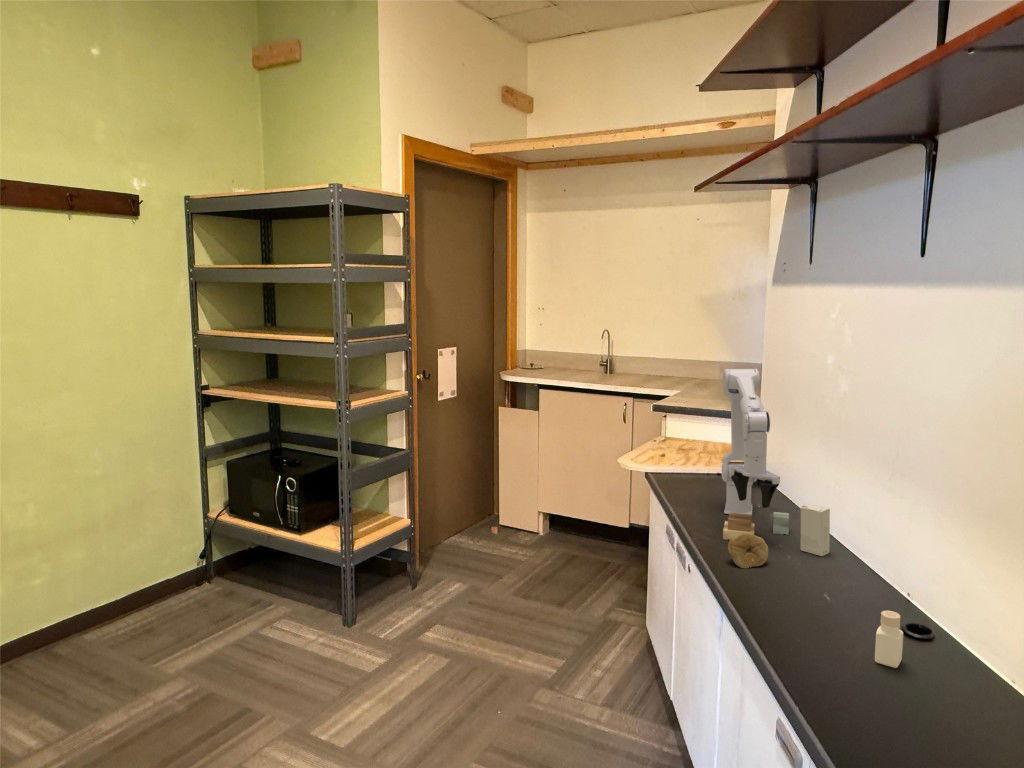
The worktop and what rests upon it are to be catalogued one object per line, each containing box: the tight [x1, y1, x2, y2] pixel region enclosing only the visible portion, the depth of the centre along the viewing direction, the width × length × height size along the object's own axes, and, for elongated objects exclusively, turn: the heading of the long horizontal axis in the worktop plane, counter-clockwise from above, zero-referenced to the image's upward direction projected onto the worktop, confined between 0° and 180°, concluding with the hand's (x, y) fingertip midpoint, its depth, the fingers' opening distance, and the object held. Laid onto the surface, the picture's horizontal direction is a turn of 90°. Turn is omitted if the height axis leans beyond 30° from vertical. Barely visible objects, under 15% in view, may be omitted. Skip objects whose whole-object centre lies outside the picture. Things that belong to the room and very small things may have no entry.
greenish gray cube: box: [772, 511, 790, 536], centre depth 201 cm, size 4×4×5 cm
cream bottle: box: [874, 610, 904, 669], centre depth 133 cm, size 4×4×10 cm
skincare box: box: [800, 503, 831, 557], centre depth 186 cm, size 6×4×12 cm
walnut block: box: [727, 512, 753, 532], centre depth 199 cm, size 6×6×3 cm
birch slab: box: [722, 520, 755, 541], centre depth 199 cm, size 8×8×3 cm
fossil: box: [727, 534, 769, 569], centre depth 181 cm, size 9×4×10 cm
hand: (754, 503), depth 195 cm, fingers open, 7 cm apart
